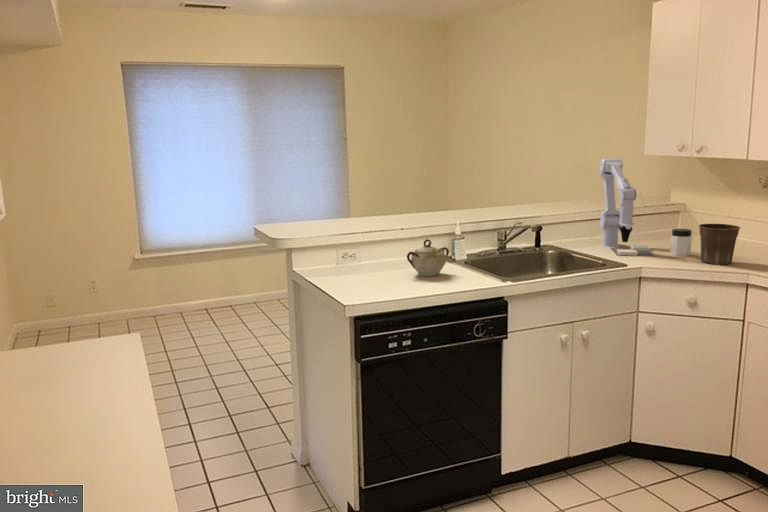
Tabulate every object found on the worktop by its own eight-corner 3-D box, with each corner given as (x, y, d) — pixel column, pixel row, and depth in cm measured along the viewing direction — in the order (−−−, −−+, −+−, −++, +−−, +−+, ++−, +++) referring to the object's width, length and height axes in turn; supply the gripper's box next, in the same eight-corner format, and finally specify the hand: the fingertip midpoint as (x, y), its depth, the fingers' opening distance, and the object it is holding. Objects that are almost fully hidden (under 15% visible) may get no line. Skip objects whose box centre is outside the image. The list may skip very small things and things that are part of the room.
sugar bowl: (415, 280, 258) (415, 243, 255) (399, 273, 271) (398, 238, 268) (457, 275, 266) (457, 239, 263) (439, 268, 279) (439, 234, 276)
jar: (685, 257, 293) (687, 231, 291) (667, 255, 299) (669, 230, 296) (693, 254, 299) (694, 229, 297) (675, 252, 305) (676, 228, 302)
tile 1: (617, 249, 305) (619, 251, 298) (634, 249, 303) (637, 252, 296) (616, 252, 305) (619, 255, 298) (634, 253, 303) (637, 255, 297)
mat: (610, 248, 319) (610, 247, 318) (646, 249, 315) (646, 248, 315) (617, 257, 297) (617, 255, 297) (656, 257, 294) (656, 256, 294)
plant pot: (742, 266, 272) (745, 229, 269) (700, 265, 275) (703, 228, 272) (731, 259, 287) (734, 223, 284) (692, 258, 291) (694, 223, 288)
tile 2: (629, 248, 315) (630, 245, 315) (647, 248, 313) (647, 245, 313) (632, 251, 308) (632, 247, 308) (650, 251, 307) (650, 248, 306)
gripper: (638, 215, 296) (636, 244, 299) (632, 211, 310) (630, 239, 313) (622, 215, 297) (620, 244, 300) (617, 211, 311) (615, 239, 314)
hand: (624, 241), depth 306 cm, fingers closed
